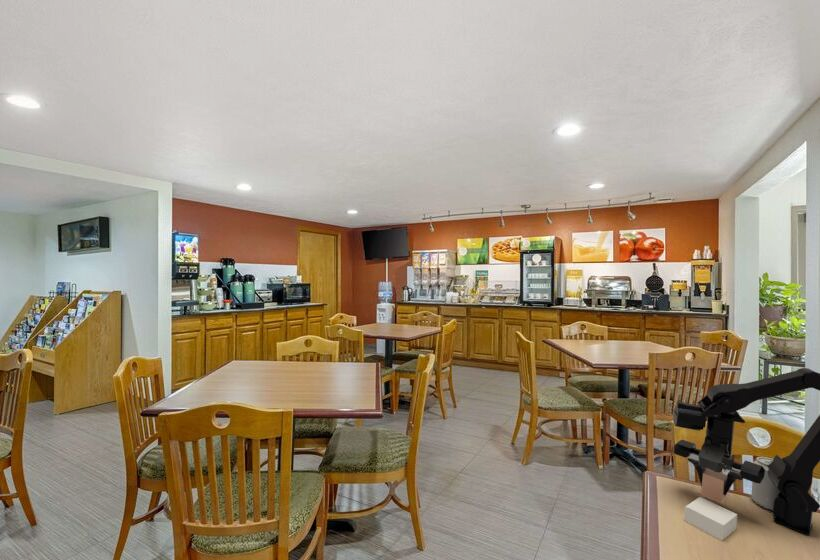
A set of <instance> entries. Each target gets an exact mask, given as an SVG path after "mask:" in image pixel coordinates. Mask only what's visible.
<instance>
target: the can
mask: <svg viewBox="0 0 820 560" xmlns="http://www.w3.org/2000/svg"><path fill="white" fill-rule="evenodd" d="M773 459H774V458H770V457H765V456H757V457H756V460H754V461H753V462H752V463H755V464H758V465H761V466H763V468H764V469H765V474H764V478H763V480H762V481H761V483H760V484H759V483H755V482H752V481H751V495H750V497H751V499H752V500H753V501H754V502H755V503H756V504H757V505H758V504H759V505H758V506H760V505H761V506H760V507H762V506H763V507H762V508H764V509H766V510H770V511H773V507H774V500H775V498H776V497H778V495H779V493H780V491H779V490H778V489H777V488H776V486H775V485H774V484H773V483H772V481H771V480H770V479H769V476H768V470H769V468H768V467H767V465H769V464H771V463H772V461H773ZM767 499H769V500H767Z"/></svg>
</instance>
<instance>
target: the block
mask: <svg viewBox="0 0 820 560" xmlns="http://www.w3.org/2000/svg"><path fill="white" fill-rule="evenodd" d="M726 480H727V474H725V473H722V472H719V473H718V472H714V471H713V470H710V469H708V468H706V471H705V472H704V473H703V478H702V486H701V490H700V495H701V496H703V497H706V498H709V499H710V500H713V501H715V502H717V503H721V504H722V503H723V502H724V500H725V499H726V498H727V495H726V496H725V495H724V488H725V484H726Z"/></svg>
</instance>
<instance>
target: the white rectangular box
mask: <svg viewBox="0 0 820 560" xmlns="http://www.w3.org/2000/svg"><path fill="white" fill-rule="evenodd" d="M684 507H685V508H684V510H685V511H684V517H683V519H684V522H686V523H689V524H690V525H692V526H694V527H696V528H697V529H700V530H702V531H704V532H705V533H707V534H710V535H711V536H713V537H715V538H716V539H719V540H720V541H724V539H726V538H727V537H728V536H729V535H730V534H732V533H733V532H734V531H735V530H737V523H738V514H737V513H735V512H733V511H731V510H729V509H727V508H724V507H723V506H720V505H718V504H716V503H714V502H713V501H710V500H708V499H705V498H704V497H702V496H699V497H697V498H696V499H695V500H692V502H690V503H688V504H687V505H685V506H684Z"/></svg>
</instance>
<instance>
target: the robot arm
mask: <svg viewBox="0 0 820 560" xmlns="http://www.w3.org/2000/svg"><path fill="white" fill-rule="evenodd" d="M807 389H815V390H817V391H819V392H820V372H817V371H815V370H812V369H810V368H807V367H802V368H799V369H796V370H794V371H790V372H785V373H781V374H779V375H778V374H777V375H774V376H770V377H766V378H762V379H758V380H755V381H750V382H745V383H722V384H715V385H712V386H711V387H709V389H708V390H707V394H706V395H704V396H703V397H702V398H701V399H700V400H699V401H697V402H696V404H692V403H687V402H683V401H676V403H675V406H674V409H673V412H672V414H673V415H672V418H673V419H672V421H673V425H674V427H675V428H676V427H678V428H681V429H686V430H687V429H688V430H693V431H699V432H700V431H703V430H704V429H705V437H704V441H703V444H702V445H701V447H700V449H698V448H697V444H696V443H694V442H692V441H688V440H685V439H679V440H678V441H677V442H676V443H675V444H674V446H673V449H672V450H673V452H672V453H673V454H674V455H676V456H678V457H679V456H680V457H682V458H685V459H686V458H687V461H688V462H689V463H691V464H693V466H694V467H695V470H696V473H697V476H698V479H699V482H700V485H701V487H702V478H703V473H704V472H705V471H706V469H707V468H708V469H710V470H713V471H714V472H718V473H719V472H720V473H722V471H723V470H725V471H726V470H728V473H727V474H726V475H727V480H726V484H725V488H724V495H725V496H726V497H727V494H728V492H729V491H730V490H731V487H732V485H733V484H734V483H735V482H736V480H739V481H742V480H746V481H749V482H751V483H752V482H755V483H759V484H760V483H761V481H762V480H763V478H764V474H765V469H764V468H763V466H761V465H758V464H755V463H753V462H751V461H748V460H747V459H746V460H744V462H743V463H740V462H737V461H735V459H734V456H733V455H732V452H733V442H734V431H735V423H741V424H745V423H746V420H745V419H744V418H743V417H742V416H741V415H740V413H739V412H738V411H740V410H743V409H745V408H746V407H748V406H750V405H751V404H752V403H754V402H757V401H759V400H764V399H768V398H773V397H777V396H781V395H786V394H790V393H794V392H799V391H803V390H807ZM705 427H706V428H705ZM772 459H773V461H772V463H771V464H769V465H767V467H768V468H769V470H768V476H769V479H770V480H771V481H772V483H773V484H774V485H775V486H776V488H777V489H778V490H779V491H780V493H779V495H778V497H776V498H775V500H774V507H773V510H772V516H773V517H774V518H773V522H775V523H776V524H779V525H782V526H784V527H786V528H789V529H792V530H794V531H796V532H799V533H802V534H803V535H806V536H810V534H811V531H812V528H813V513H816V512H817V511H818V510H819V509H820V504H819V502H818V501H817V500H816V499H815V498H814V496H812V495H811V493H810V492H809V491H810V489H811V487H812V484H813V478H814V477H813V476H814V470H815V469H816V467H817V466H818V464H819V463H820V414H819V415H818V417H817V418H816V419H815V421H814V422H813V423H812V424H811V426H810V427H809V429H808V430H807V431H806V433H805V434H804V435H803V437H802V438H801V439H800V440H799V443H797V444H796V447H795V448H794V449H793V450H792V452H791V453H790V454H788V455H787V456H785V457H781V456H779V455H777V454H776V455H774V458H772Z"/></svg>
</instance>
